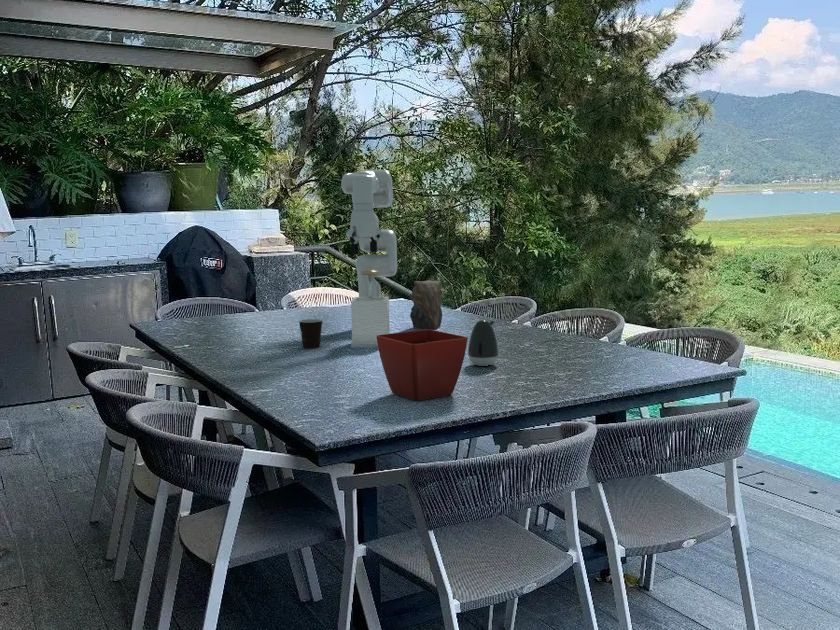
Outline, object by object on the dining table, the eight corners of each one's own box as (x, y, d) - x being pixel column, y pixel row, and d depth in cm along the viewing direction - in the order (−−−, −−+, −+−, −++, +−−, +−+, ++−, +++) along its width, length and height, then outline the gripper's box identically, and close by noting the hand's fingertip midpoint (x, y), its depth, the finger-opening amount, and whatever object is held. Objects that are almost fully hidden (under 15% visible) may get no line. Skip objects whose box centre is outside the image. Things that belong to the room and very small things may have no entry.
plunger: (359, 314, 332) (358, 269, 330) (384, 313, 332) (383, 269, 329) (356, 317, 322) (355, 272, 320) (382, 317, 322) (381, 271, 320)
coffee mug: (318, 349, 320) (317, 322, 318) (296, 348, 322) (295, 322, 320) (328, 344, 331) (327, 318, 330) (306, 343, 333) (306, 318, 331)
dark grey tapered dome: (505, 365, 285) (505, 319, 283) (485, 369, 277) (484, 323, 275) (482, 361, 292) (481, 316, 290) (461, 365, 284) (461, 320, 282)
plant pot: (470, 395, 241) (469, 336, 239) (414, 406, 230) (413, 344, 228) (429, 384, 257) (429, 328, 255) (375, 393, 246) (374, 335, 244)
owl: (409, 328, 368) (408, 281, 366) (421, 324, 380) (420, 279, 377) (436, 329, 363) (435, 282, 360) (447, 325, 375) (447, 279, 372)
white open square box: (354, 341, 336) (353, 297, 333) (390, 341, 335) (389, 296, 333) (351, 347, 322) (349, 301, 319) (388, 347, 321) (387, 300, 319)
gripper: (373, 206, 334) (374, 250, 337) (339, 208, 322) (340, 254, 325) (386, 207, 329) (387, 251, 332) (353, 209, 317) (354, 255, 319)
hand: (364, 253), depth 328 cm, fingers open, 9 cm apart
